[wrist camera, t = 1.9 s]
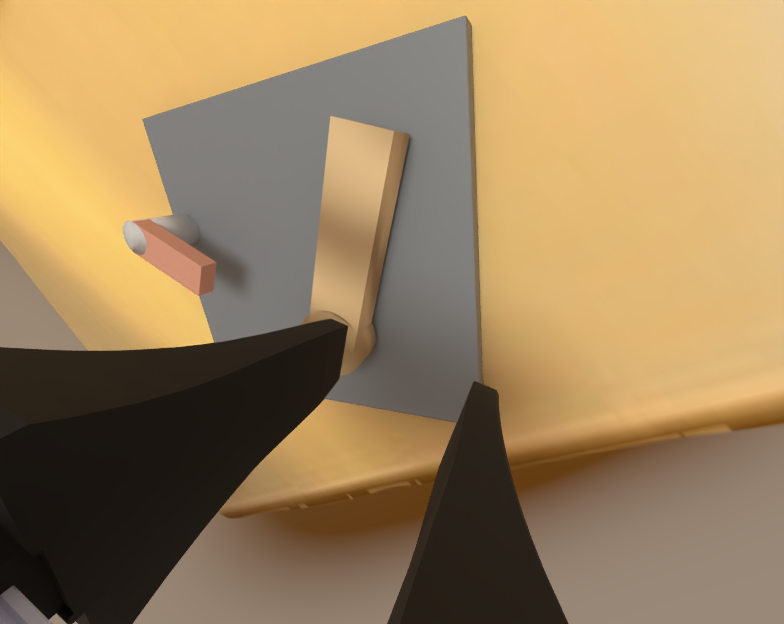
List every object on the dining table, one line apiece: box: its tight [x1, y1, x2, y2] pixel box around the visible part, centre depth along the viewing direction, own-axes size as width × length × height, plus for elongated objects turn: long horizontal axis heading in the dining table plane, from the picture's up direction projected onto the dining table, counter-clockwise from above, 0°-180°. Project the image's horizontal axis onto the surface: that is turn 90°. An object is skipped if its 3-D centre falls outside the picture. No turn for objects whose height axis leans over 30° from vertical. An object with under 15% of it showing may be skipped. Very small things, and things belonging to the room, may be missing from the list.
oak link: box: [302, 116, 410, 375], centre depth 17 cm, size 13×4×3 cm, turn 167°
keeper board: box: [123, 16, 483, 423], centre depth 20 cm, size 19×20×5 cm
